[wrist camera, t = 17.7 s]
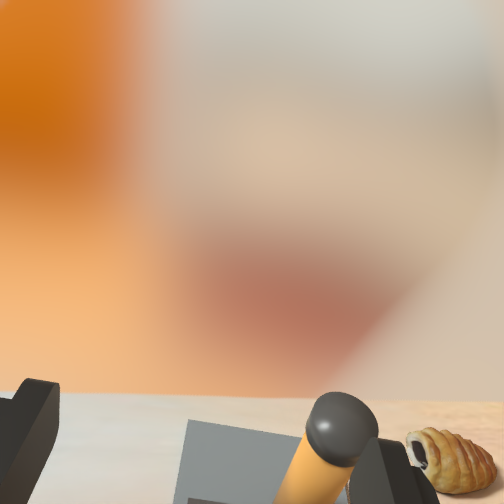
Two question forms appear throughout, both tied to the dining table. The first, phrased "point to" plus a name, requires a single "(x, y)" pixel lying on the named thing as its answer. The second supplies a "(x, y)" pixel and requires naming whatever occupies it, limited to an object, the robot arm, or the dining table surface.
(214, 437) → the mat
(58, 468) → the dining table surface
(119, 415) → the dining table surface
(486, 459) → the pastry
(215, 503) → the housing
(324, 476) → the plug
